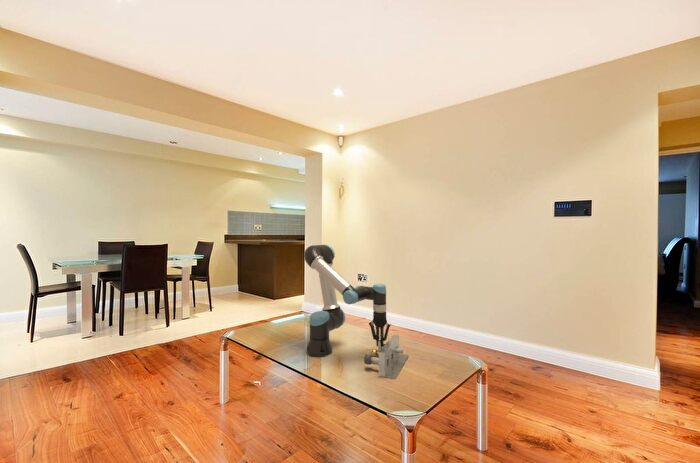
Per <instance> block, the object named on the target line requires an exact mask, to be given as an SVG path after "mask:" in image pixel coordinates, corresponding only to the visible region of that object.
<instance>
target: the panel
mask: <svg viewBox="0 0 700 463" xmlns="http://www.w3.org/2000/svg"><path fill="white" fill-rule="evenodd" d="M384 344H385V345H384V346H383V347H382V349H381V350H380V351H379V357H378V358H379V364H378V377H381V378H388V379H393V380H396V379H397V378H398V376H399V375H400V372H401V370H402V369H403V367H404V366H405V365H406V364H405V363H406V362H407V360H408V359H409V354H405V353H403V354H401V353H396V348H400V334H394V333H393V335H392V336H391V337H390V338H389V339H388V341H387V342H386V343H384Z"/></svg>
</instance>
